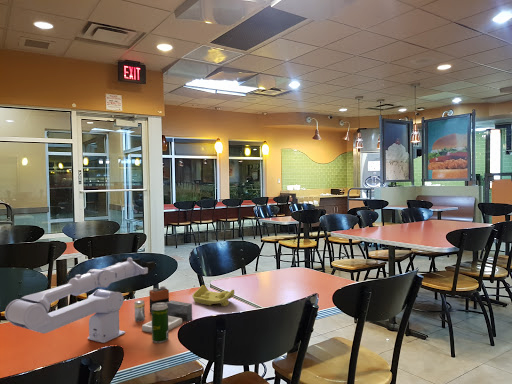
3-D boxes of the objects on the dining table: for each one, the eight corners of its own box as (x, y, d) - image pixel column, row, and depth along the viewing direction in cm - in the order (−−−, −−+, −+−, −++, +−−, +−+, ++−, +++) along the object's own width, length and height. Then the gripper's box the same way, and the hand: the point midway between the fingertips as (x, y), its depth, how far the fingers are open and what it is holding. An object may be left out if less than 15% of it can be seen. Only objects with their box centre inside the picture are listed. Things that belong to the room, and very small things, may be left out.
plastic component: (190, 296, 169) (205, 282, 176) (196, 310, 171) (211, 295, 178) (220, 302, 156) (235, 287, 162) (227, 316, 158) (242, 300, 165)
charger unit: (187, 321, 145) (186, 306, 145) (166, 317, 150) (166, 302, 149) (192, 318, 148) (192, 303, 148) (172, 315, 152) (171, 300, 152)
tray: (161, 334, 133) (160, 329, 133) (142, 330, 137) (142, 325, 137) (182, 323, 143) (182, 318, 143) (164, 319, 147) (164, 314, 147)
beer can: (169, 336, 132) (168, 301, 131) (167, 343, 126) (166, 306, 126) (153, 337, 131) (152, 302, 131) (150, 344, 126) (150, 307, 125)
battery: (169, 311, 157) (169, 287, 156) (153, 315, 153) (152, 290, 152) (165, 308, 160) (164, 285, 160) (149, 312, 156) (148, 288, 156)
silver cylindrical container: (139, 322, 145) (139, 303, 145) (132, 320, 147) (132, 302, 147) (146, 318, 149) (146, 301, 148) (139, 317, 150) (139, 299, 150)
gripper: (134, 263, 134) (161, 255, 146) (105, 258, 141) (133, 250, 153) (134, 283, 134) (161, 273, 146) (106, 277, 141) (133, 268, 153)
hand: (147, 263), depth 150 cm, fingers open, 7 cm apart
